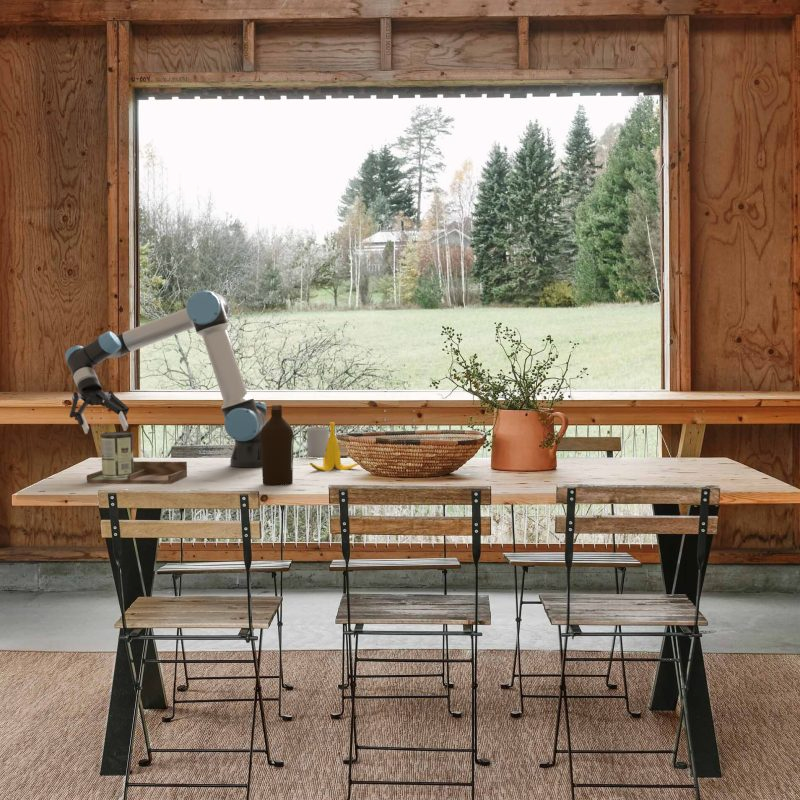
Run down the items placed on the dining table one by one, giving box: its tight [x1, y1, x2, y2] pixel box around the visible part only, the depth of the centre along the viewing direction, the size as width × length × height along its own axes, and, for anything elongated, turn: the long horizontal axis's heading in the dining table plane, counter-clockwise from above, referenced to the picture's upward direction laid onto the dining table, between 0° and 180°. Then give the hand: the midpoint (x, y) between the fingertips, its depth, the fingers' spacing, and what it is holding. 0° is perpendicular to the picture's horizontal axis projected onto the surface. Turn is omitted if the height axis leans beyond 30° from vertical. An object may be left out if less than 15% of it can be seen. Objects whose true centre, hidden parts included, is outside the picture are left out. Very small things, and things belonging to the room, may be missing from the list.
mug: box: [306, 426, 330, 458], centre depth 386 cm, size 12×8×11 cm
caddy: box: [86, 460, 188, 484], centre depth 323 cm, size 28×16×5 cm, turn 84°
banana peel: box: [309, 421, 359, 472], centre depth 345 cm, size 17×19×17 cm
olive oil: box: [260, 404, 295, 487], centre depth 311 cm, size 11×11×25 cm
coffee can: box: [100, 431, 134, 478], centre depth 323 cm, size 10×10×14 cm
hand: (107, 429), depth 328 cm, fingers open, 13 cm apart
